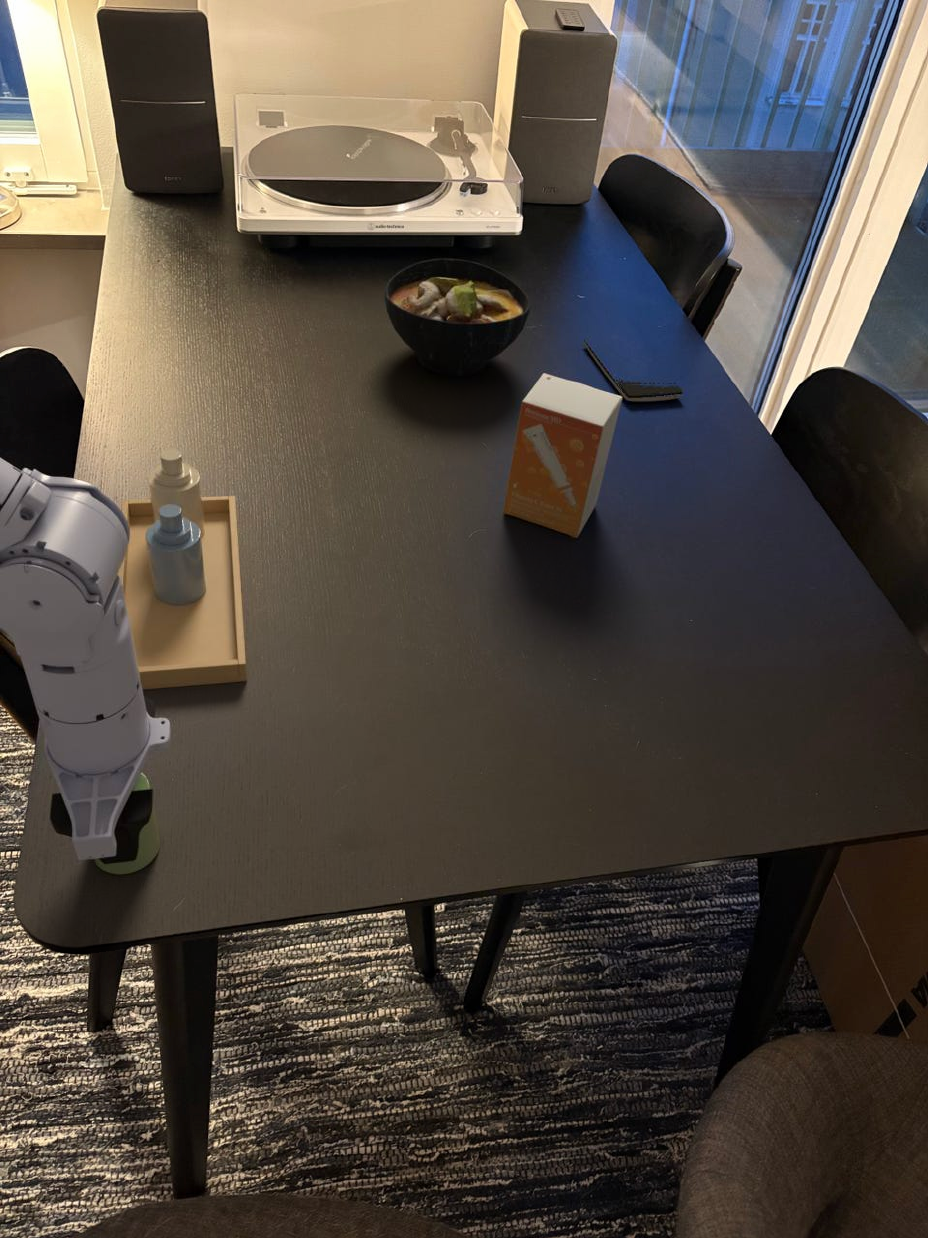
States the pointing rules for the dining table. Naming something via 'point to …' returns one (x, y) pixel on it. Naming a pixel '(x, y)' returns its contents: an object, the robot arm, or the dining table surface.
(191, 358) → the dining table surface
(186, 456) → the dining table surface
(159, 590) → the blue bottle
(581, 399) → the small box
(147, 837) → the sage bottle
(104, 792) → the robot arm
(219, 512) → the tray
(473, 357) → the bowl
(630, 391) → the laptop
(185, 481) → the cream bottle
